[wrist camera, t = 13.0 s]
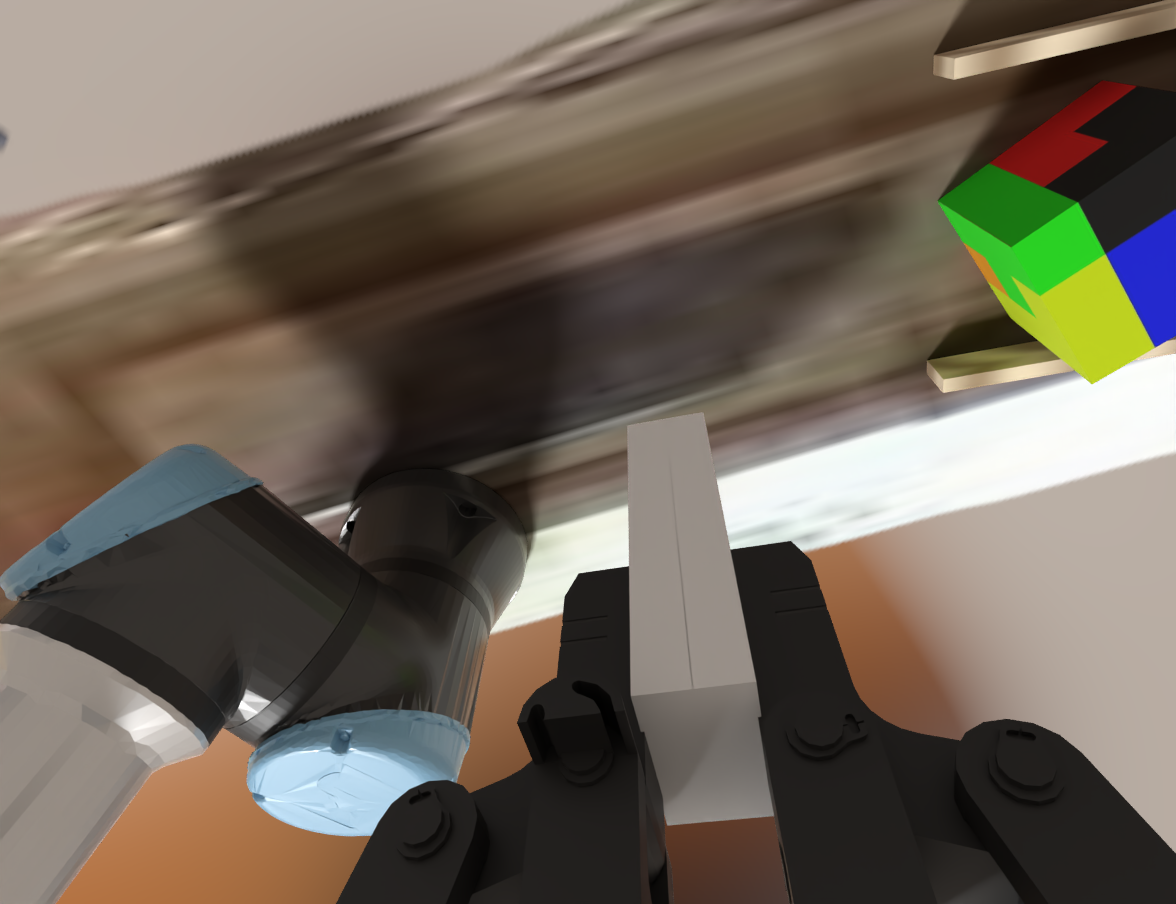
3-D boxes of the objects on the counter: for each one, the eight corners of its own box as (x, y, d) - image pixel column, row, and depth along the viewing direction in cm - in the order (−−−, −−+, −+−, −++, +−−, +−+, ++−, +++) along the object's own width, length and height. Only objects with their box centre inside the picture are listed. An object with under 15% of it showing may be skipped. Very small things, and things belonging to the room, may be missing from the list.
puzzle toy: (1166, 216, 44) (1294, 267, 36) (1009, 317, 48) (1092, 384, 40) (1101, 80, 41) (1227, 100, 32) (936, 200, 44) (1011, 247, 36)
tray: (926, 373, 50) (943, 392, 48) (933, 55, 40) (954, 58, 38) (1211, 323, 48) (1244, 341, 45) (1295, -31, 38) (1344, -33, 35)
